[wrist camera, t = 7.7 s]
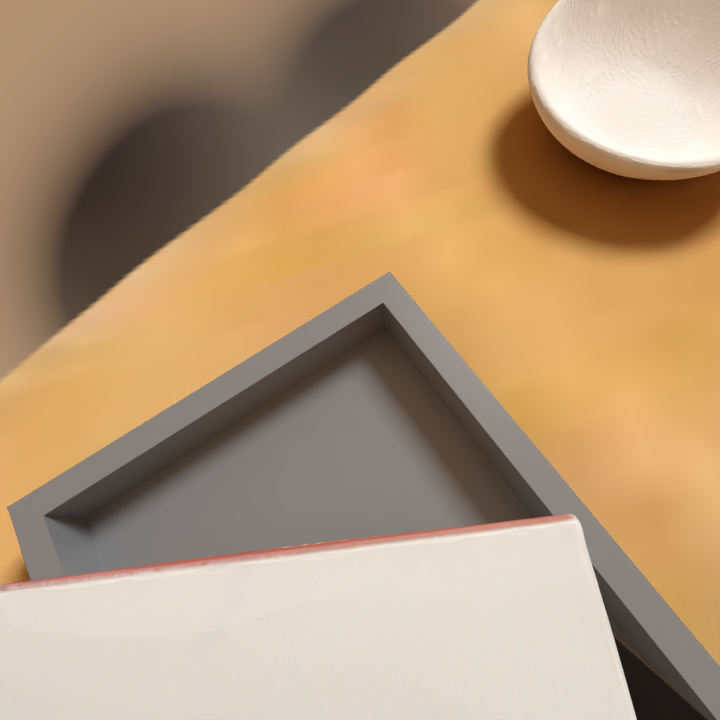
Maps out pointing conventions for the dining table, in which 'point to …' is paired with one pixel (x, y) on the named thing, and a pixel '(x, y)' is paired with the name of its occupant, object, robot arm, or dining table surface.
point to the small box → (325, 633)
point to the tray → (336, 471)
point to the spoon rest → (632, 84)
